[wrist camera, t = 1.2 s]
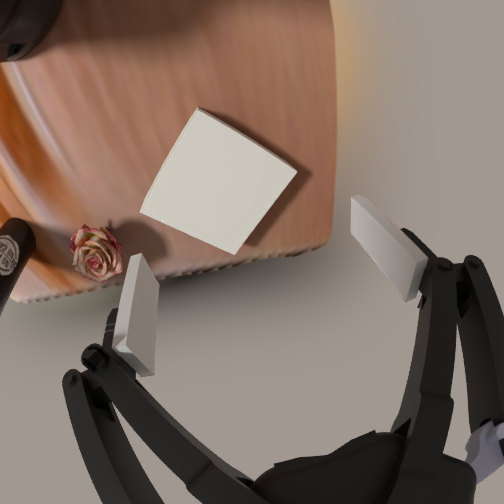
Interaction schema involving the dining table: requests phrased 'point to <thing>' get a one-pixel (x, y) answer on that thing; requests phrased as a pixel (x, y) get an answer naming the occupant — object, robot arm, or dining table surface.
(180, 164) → the block
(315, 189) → the dining table surface
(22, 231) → the water bottle
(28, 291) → the dining table surface
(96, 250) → the flower
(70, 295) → the dining table surface
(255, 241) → the dining table surface
